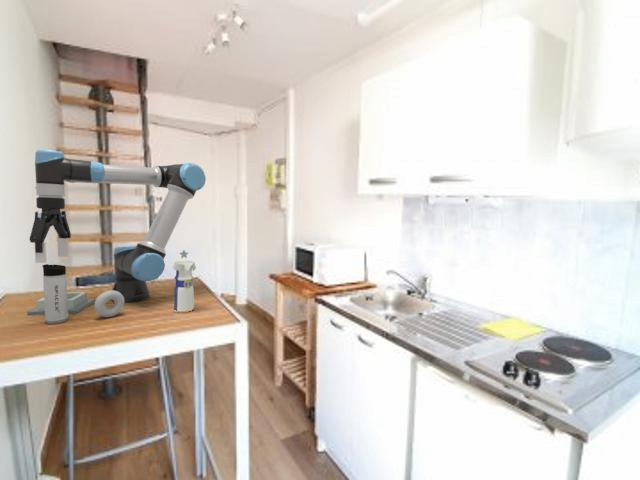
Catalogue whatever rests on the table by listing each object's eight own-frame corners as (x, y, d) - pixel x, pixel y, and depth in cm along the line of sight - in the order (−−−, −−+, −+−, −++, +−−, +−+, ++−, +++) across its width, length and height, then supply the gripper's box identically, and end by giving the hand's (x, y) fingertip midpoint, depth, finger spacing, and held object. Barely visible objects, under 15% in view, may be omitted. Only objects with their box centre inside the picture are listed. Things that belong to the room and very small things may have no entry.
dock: (95, 301, 143) (95, 290, 143) (76, 313, 128) (76, 301, 127) (51, 302, 140) (51, 291, 139) (27, 314, 124) (26, 302, 124)
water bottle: (199, 310, 137) (200, 248, 135) (179, 314, 131) (178, 250, 128) (190, 305, 143) (190, 246, 140) (169, 309, 137) (169, 247, 134)
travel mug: (52, 318, 122) (50, 263, 120) (71, 318, 123) (69, 263, 121) (39, 324, 116) (37, 266, 114) (60, 324, 117) (57, 266, 115)
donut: (96, 321, 121) (96, 293, 120) (92, 319, 123) (92, 292, 122) (126, 314, 129) (126, 288, 128) (122, 312, 131) (121, 287, 130)
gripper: (57, 197, 126) (59, 253, 128) (13, 195, 102) (15, 265, 104) (80, 198, 128) (82, 254, 130) (41, 196, 104) (44, 265, 106)
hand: (52, 259), depth 117 cm, fingers open, 13 cm apart
